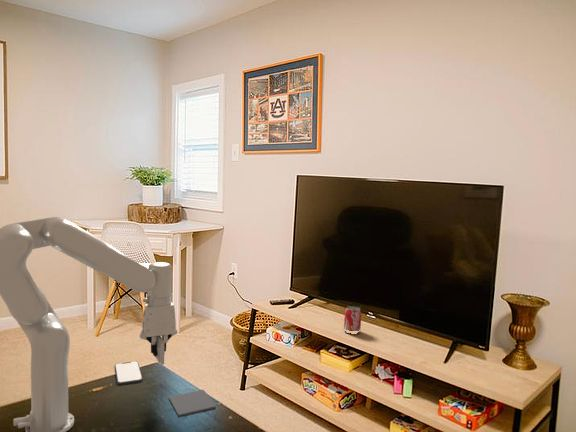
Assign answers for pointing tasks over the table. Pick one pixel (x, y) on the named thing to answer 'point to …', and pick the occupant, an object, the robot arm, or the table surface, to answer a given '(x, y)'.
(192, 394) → the pad
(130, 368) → the phone case
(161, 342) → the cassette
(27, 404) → the table surface
